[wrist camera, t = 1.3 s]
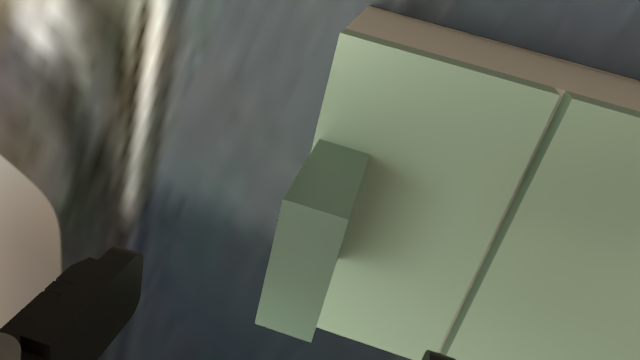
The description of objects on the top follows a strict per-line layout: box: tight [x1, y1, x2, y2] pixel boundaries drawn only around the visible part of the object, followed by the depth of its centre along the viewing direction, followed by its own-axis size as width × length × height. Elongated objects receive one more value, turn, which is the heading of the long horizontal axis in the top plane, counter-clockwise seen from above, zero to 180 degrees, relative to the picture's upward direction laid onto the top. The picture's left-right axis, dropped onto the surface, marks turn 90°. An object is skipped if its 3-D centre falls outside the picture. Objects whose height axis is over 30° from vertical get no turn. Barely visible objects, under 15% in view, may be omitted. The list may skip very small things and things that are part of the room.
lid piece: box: [255, 28, 560, 360], centre depth 19 cm, size 8×13×7 cm, turn 167°
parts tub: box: [346, 6, 640, 360], centre depth 23 cm, size 16×13×8 cm
